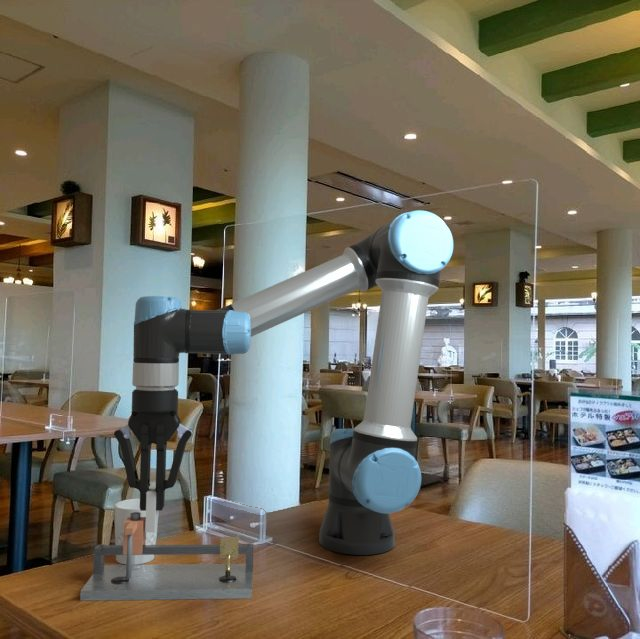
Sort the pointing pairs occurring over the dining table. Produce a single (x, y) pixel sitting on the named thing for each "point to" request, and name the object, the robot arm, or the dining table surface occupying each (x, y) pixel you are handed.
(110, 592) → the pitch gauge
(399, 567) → the dining table surface
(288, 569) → the dining table surface
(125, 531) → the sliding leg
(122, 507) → the white cup
